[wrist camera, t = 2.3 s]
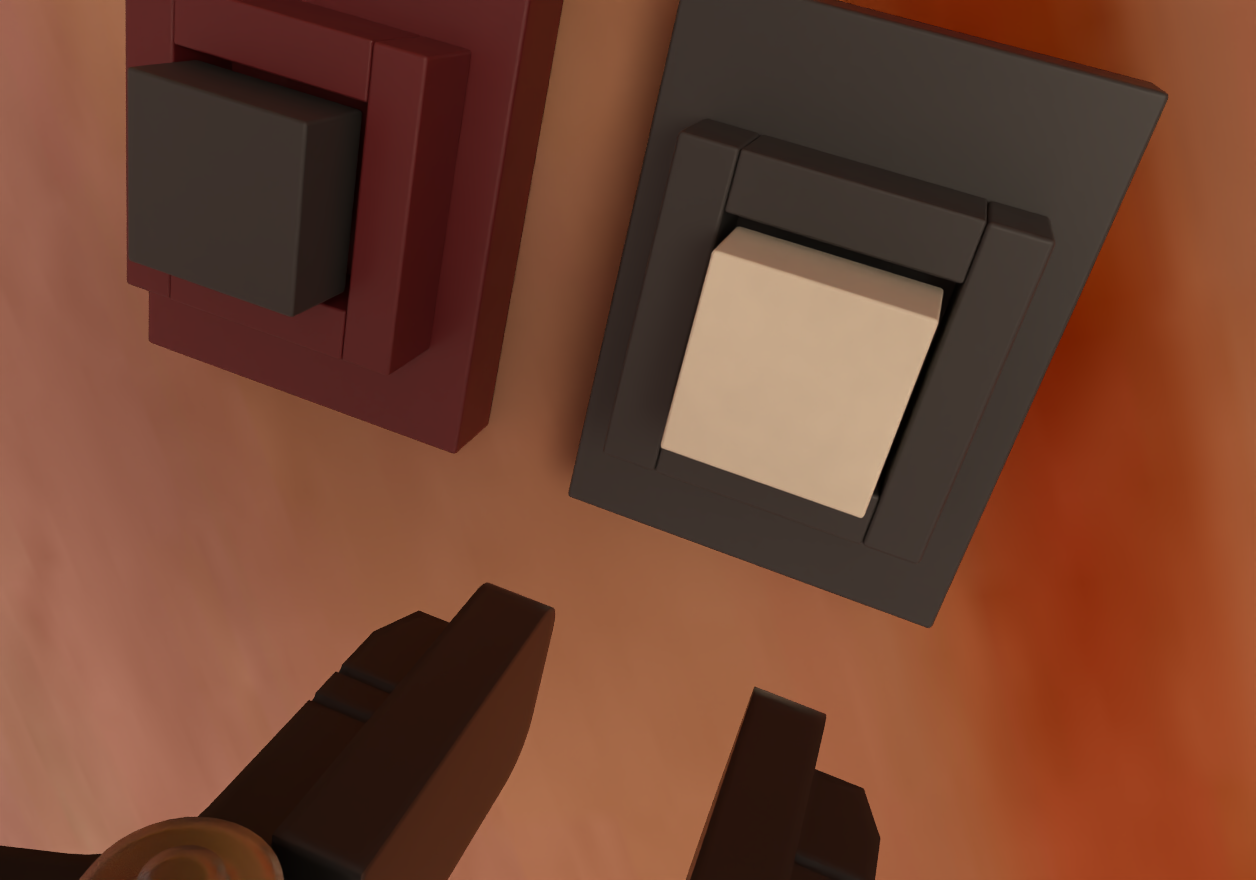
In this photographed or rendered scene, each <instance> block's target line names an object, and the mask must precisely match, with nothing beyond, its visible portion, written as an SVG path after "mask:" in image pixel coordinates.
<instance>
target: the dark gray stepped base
mask: <svg viewBox="0 0 1256 880" xmlns="http://www.w3.org/2000/svg"><path fill="white" fill-rule="evenodd" d="M1167 100H1168V94H1167V93H1166V92H1164V91H1163V90H1161V89H1160V88H1158V87H1157V86H1156V85H1154V84H1153V83H1151V82H1147V81H1143V80H1139V79H1135V78H1131V77H1128V76H1124V75H1120V74H1116V73H1112V72H1109V71H1105V70H1101V69H1097V68H1093V67H1089V66H1086V65H1082V64H1078V63H1074V62H1070V61H1067V60H1063V59H1059V58H1055V57H1051V56H1047V55H1044V54H1040V53H1036V52H1032V51H1028V50H1025V49H1021V48H1017V47H1013V46H1009V45H1005V44H1002V43H998V42H994V41H990V40H986V39H982V38H979V37H975V36H971V35H967V34H963V33H960V32H956V31H952V30H948V29H944V28H940V27H937V26H933V25H929V24H925V23H921V22H918V21H914V20H910V19H906V18H902V17H898V16H895V15H891V14H887V13H883V12H879V11H875V10H872V9H868V8H864V7H860V6H856V5H853V4H849V3H845V2H841V1H837V0H680V1H679V5H678V9H677V14H676V18H675V23H674V27H673V32H672V36H671V40H670V45H669V49H668V54H667V58H666V63H665V67H664V71H663V76H662V80H661V85H660V89H659V94H658V98H657V102H656V107H655V111H654V116H653V120H652V125H651V129H650V133H649V138H648V142H647V147H646V151H645V156H644V160H643V164H642V169H641V173H640V178H639V182H638V187H637V191H636V195H635V200H634V204H633V209H632V213H631V218H630V222H629V226H628V231H627V235H626V240H625V244H624V249H623V253H622V257H621V262H620V266H619V271H618V275H617V280H616V284H615V288H614V293H613V297H612V302H611V306H610V311H609V315H608V319H607V324H606V328H605V333H604V337H603V342H602V346H601V350H600V355H599V359H598V364H597V368H596V373H595V377H594V381H593V386H592V390H591V395H590V399H589V404H588V408H587V412H586V417H585V421H584V426H583V430H582V435H581V439H580V443H579V448H578V452H577V457H576V461H575V466H574V470H573V474H572V479H571V483H570V488H569V492H568V493H569V496H570V497H572V498H575V499H578V500H581V501H583V502H586V503H589V504H591V505H594V506H597V507H600V508H602V509H605V510H608V511H611V512H613V513H616V514H619V515H621V516H624V517H627V518H630V519H632V520H635V521H638V522H641V523H643V524H646V525H649V526H651V527H654V528H657V529H660V530H662V531H665V532H668V533H671V534H673V535H676V536H679V537H681V538H684V539H687V540H690V541H692V542H695V543H698V544H700V545H703V546H706V547H709V548H711V549H714V550H717V551H720V552H722V553H725V554H728V555H730V556H733V557H736V558H739V559H741V560H744V561H747V562H750V563H752V564H755V565H758V566H760V567H763V568H766V569H769V570H771V571H774V572H777V573H780V574H782V575H785V576H788V577H790V578H793V579H796V580H799V581H801V582H804V583H807V584H810V585H812V586H815V587H818V588H820V589H823V590H826V591H829V592H831V593H834V594H837V595H839V596H842V597H845V598H848V599H850V600H853V601H856V602H859V603H861V604H864V605H867V606H869V607H872V608H875V609H878V610H880V611H883V612H886V613H889V614H891V615H894V616H897V617H899V618H902V619H905V620H908V621H910V622H913V623H916V624H919V625H921V626H924V627H927V628H930V627H931V626H932V625H933V623H934V621H935V618H936V616H937V614H938V612H939V610H940V607H941V605H942V603H943V601H944V598H945V596H946V594H947V592H948V589H949V587H950V585H951V583H952V580H953V578H954V576H955V574H956V572H957V569H958V567H959V565H960V563H961V560H962V558H963V556H964V554H965V551H966V549H967V547H968V545H969V542H970V540H971V538H972V536H973V534H974V531H975V529H976V527H977V525H978V522H979V520H980V518H981V516H982V513H983V511H984V509H985V507H986V504H987V502H988V500H989V498H990V496H991V493H992V491H993V489H994V487H995V484H996V482H997V480H998V478H999V475H1000V473H1001V471H1002V469H1003V467H1004V464H1005V462H1006V460H1007V458H1008V455H1009V453H1010V451H1011V449H1012V446H1013V444H1014V442H1015V440H1016V437H1017V435H1018V433H1019V431H1020V429H1021V426H1022V424H1023V422H1024V420H1025V417H1026V415H1027V413H1028V411H1029V408H1030V406H1031V404H1032V402H1033V399H1034V397H1035V395H1036V393H1037V391H1038V388H1039V386H1040V384H1041V382H1042V379H1043V377H1044V375H1045V373H1046V370H1047V368H1048V366H1049V364H1050V361H1051V359H1052V357H1053V355H1054V353H1055V350H1056V348H1057V346H1058V344H1059V341H1060V339H1061V337H1062V335H1063V332H1064V330H1065V328H1066V326H1067V323H1068V321H1069V319H1070V317H1071V315H1072V312H1073V310H1074V308H1075V306H1076V303H1077V301H1078V299H1079V297H1080V294H1081V292H1082V290H1083V288H1084V286H1085V283H1086V281H1087V279H1088V277H1089V274H1090V272H1091V270H1092V268H1093V265H1094V263H1095V261H1096V259H1097V256H1098V254H1099V252H1100V250H1101V248H1102V245H1103V243H1104V241H1105V239H1106V236H1107V234H1108V232H1109V230H1110V227H1111V225H1112V223H1113V221H1114V218H1115V216H1116V214H1117V212H1118V210H1119V207H1120V205H1121V203H1122V201H1123V198H1124V196H1125V194H1126V192H1127V189H1128V187H1129V185H1130V183H1131V180H1132V178H1133V176H1134V174H1135V172H1136V169H1137V167H1138V165H1139V163H1140V160H1141V158H1142V156H1143V154H1144V151H1145V149H1146V147H1147V145H1148V142H1149V140H1150V138H1151V136H1152V134H1153V131H1154V129H1155V127H1156V125H1157V122H1158V120H1159V118H1160V116H1161V113H1162V111H1163V109H1164V107H1165V104H1166V102H1167ZM739 226H740V227H744V228H747V229H750V230H753V231H757V232H760V233H763V234H766V235H770V236H773V237H776V238H779V239H783V240H786V241H789V242H792V243H796V244H799V245H802V246H805V247H809V248H812V249H815V250H819V251H822V252H825V253H828V254H832V255H835V256H838V257H841V258H845V259H848V260H851V261H854V262H858V263H861V264H864V265H867V266H871V267H874V268H877V269H880V270H884V271H887V272H890V273H893V274H897V275H900V276H903V277H906V278H910V279H913V280H916V281H919V282H923V283H926V284H929V285H933V286H936V287H939V288H941V289H943V298H942V304H941V310H940V317H939V323H938V326H937V328H936V331H935V334H934V336H933V339H932V341H931V344H930V347H929V349H928V352H927V354H926V357H925V359H924V362H923V365H922V367H921V370H920V372H919V375H918V378H917V380H916V383H915V385H914V388H913V391H912V393H911V396H910V398H909V401H908V404H907V406H906V409H905V411H904V414H903V417H902V419H901V422H900V424H899V427H898V430H897V432H896V435H895V437H894V440H893V443H892V445H891V448H890V450H889V453H888V456H887V458H886V461H885V463H884V466H883V468H882V471H881V474H880V476H879V479H878V481H877V484H876V487H875V489H874V492H873V494H872V497H871V500H870V502H869V505H868V507H867V510H866V513H865V515H864V516H863V517H862V518H859V517H856V516H853V515H851V514H848V513H845V512H842V511H839V510H836V509H833V508H831V507H828V506H825V505H822V504H819V503H816V502H814V501H811V500H808V499H805V498H802V497H799V496H797V495H794V494H791V493H788V492H785V491H782V490H779V489H777V488H774V487H771V486H768V485H765V484H762V483H760V482H757V481H754V480H751V479H748V478H745V477H743V476H740V475H737V474H734V473H731V472H728V471H725V470H723V469H720V468H717V467H714V466H711V465H708V464H706V463H703V462H700V461H697V460H694V459H691V458H689V457H686V456H683V455H680V454H677V453H674V452H671V451H669V450H666V449H663V448H662V447H661V441H662V437H663V433H664V430H665V426H666V422H667V418H668V415H669V411H670V407H671V403H672V400H673V396H674V392H675V388H676V385H677V381H678V377H679V373H680V370H681V366H682V362H683V359H684V355H685V351H686V347H687V344H688V340H689V336H690V332H691V329H692V325H693V321H694V317H695V314H696V310H697V306H698V302H699V299H700V295H701V291H702V287H703V284H704V280H705V276H706V272H707V269H708V265H709V261H710V257H711V254H712V251H713V250H714V249H715V248H716V247H717V246H718V245H719V244H720V243H721V242H722V241H723V240H724V239H725V238H726V237H727V236H728V235H729V234H730V233H731V232H732V231H733V230H734V229H735V228H736V227H739Z"/></svg>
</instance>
